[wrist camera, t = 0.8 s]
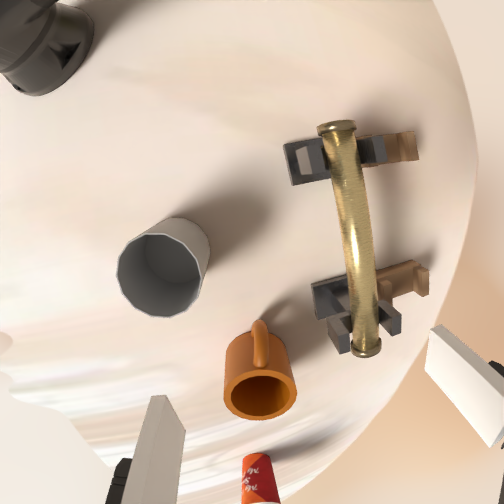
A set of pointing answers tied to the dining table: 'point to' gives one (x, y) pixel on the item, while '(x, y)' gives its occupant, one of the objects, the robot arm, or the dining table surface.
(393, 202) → the dining table surface
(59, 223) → the dining table surface
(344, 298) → the post
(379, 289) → the rest
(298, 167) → the post
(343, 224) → the rail
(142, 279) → the cup
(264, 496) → the paper cup
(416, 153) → the rest
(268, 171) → the dining table surface
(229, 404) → the mug
